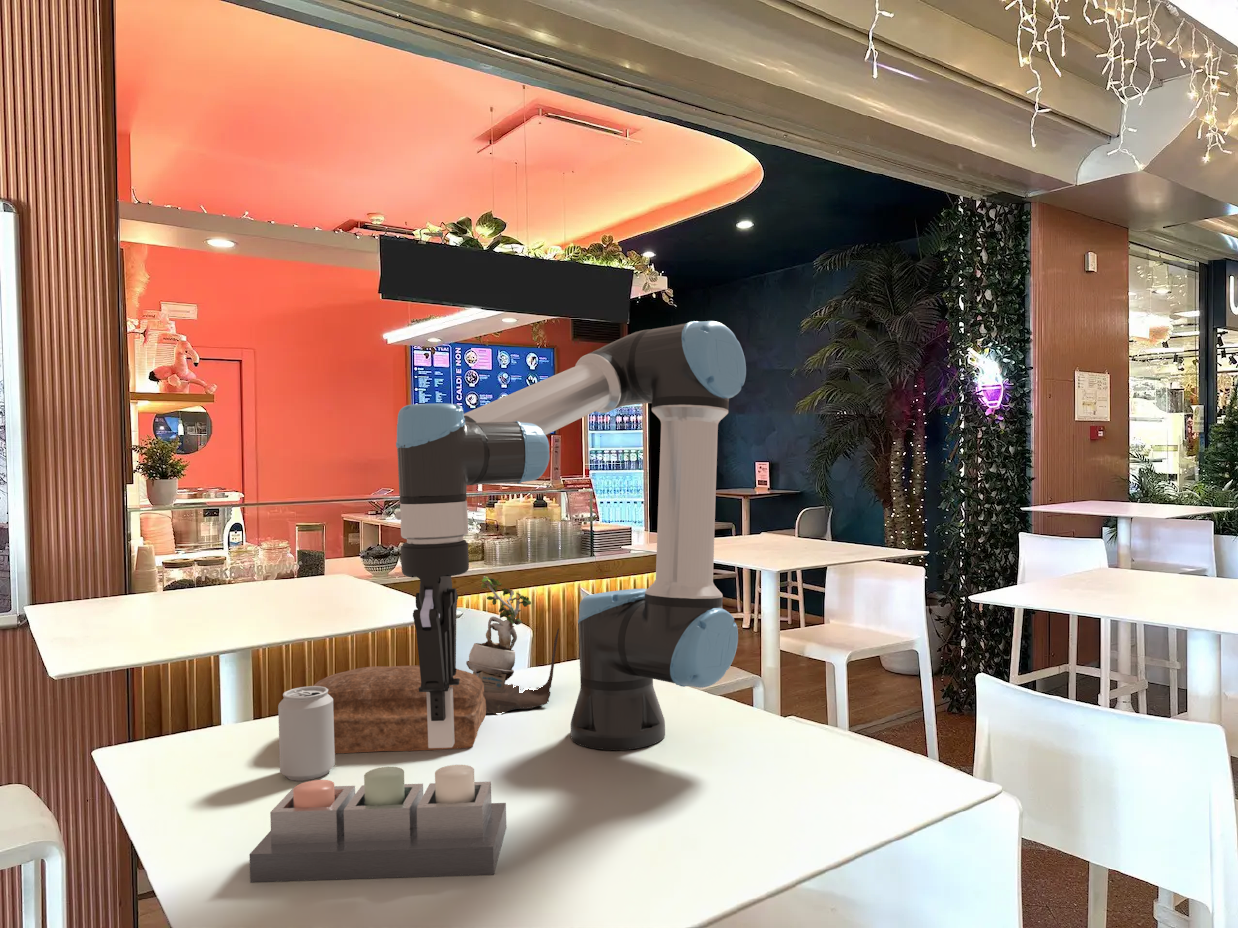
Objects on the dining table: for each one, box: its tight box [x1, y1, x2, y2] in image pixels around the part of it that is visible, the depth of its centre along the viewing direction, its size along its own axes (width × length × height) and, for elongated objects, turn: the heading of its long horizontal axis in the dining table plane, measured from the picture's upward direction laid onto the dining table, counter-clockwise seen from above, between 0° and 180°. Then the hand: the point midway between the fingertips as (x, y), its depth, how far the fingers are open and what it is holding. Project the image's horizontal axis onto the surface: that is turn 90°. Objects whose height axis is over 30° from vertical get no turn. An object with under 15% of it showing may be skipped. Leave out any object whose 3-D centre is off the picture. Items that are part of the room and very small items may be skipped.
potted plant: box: [465, 575, 560, 715], centre depth 165 cm, size 20×19×25 cm
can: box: [277, 685, 336, 782], centre depth 127 cm, size 8×8×12 cm
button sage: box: [363, 766, 405, 806], centre depth 100 cm, size 4×4×4 cm
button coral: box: [292, 779, 335, 808], centre depth 100 cm, size 4×4×4 cm
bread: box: [312, 665, 487, 755], centre depth 143 cm, size 17×29×11 cm, turn 92°
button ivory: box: [434, 764, 475, 804], centre depth 100 cm, size 4×4×4 cm
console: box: [248, 781, 507, 883], centre depth 100 cm, size 26×12×6 cm, turn 91°
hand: (441, 745), depth 100 cm, fingers closed
